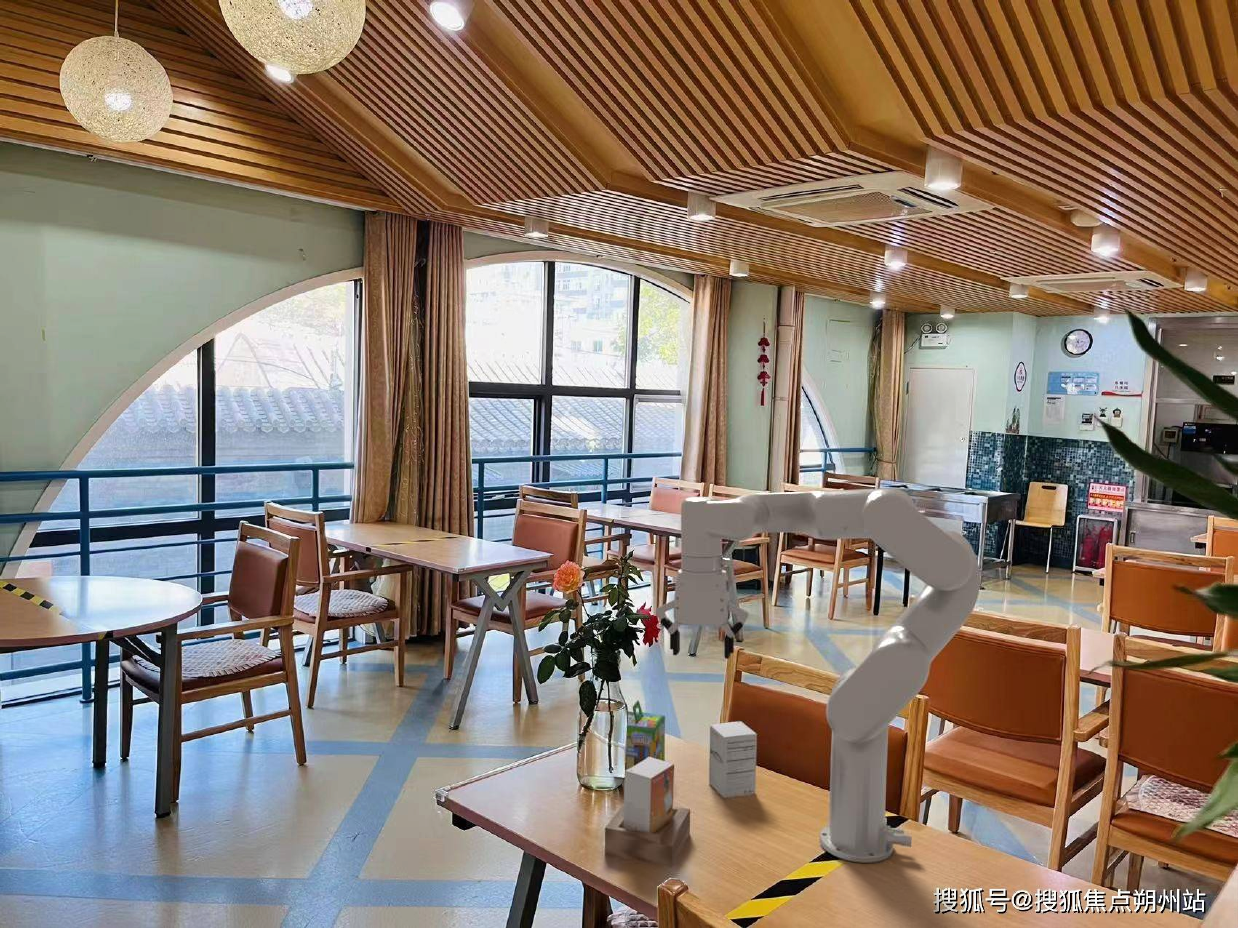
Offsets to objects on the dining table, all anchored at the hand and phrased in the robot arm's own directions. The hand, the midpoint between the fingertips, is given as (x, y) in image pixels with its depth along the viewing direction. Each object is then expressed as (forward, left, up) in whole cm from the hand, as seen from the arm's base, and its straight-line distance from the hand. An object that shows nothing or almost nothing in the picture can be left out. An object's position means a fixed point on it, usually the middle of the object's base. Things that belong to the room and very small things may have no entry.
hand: (701, 655), depth 167 cm
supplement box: (-4, -14, -31) cm, 35 cm away
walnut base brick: (+6, +13, -32) cm, 35 cm away
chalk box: (+16, -16, -32) cm, 39 cm away
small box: (+7, +13, -28) cm, 31 cm away
